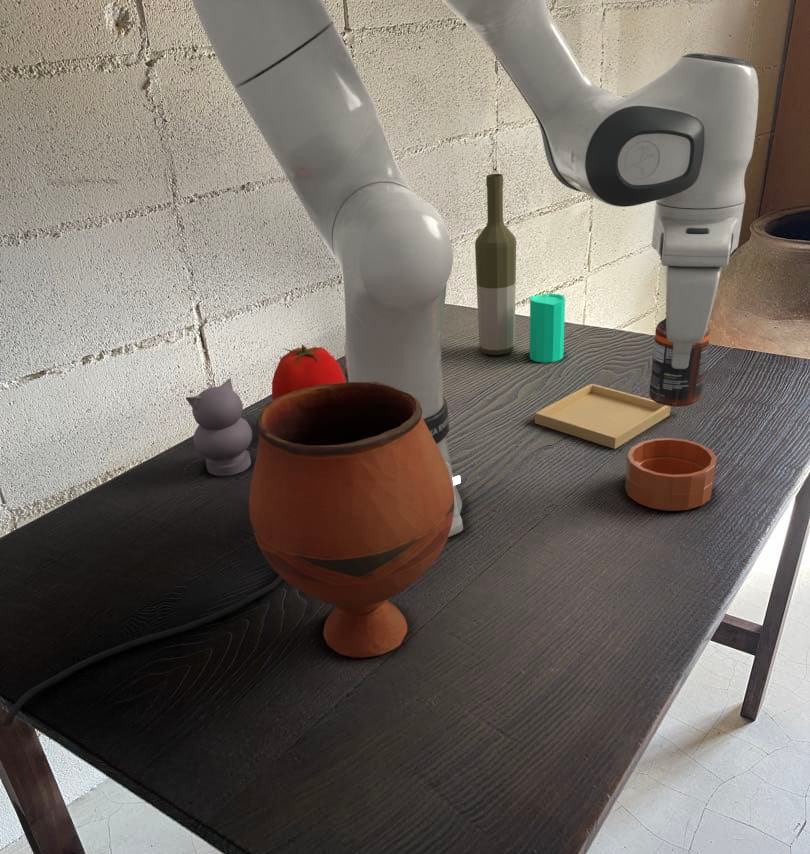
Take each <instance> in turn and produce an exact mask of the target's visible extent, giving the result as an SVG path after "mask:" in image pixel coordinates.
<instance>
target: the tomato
mask: <svg viewBox="0 0 810 854" xmlns="http://www.w3.org/2000/svg"><path fill="white" fill-rule="evenodd" d="M324 347H326V346H325V345H324V346H320V347H317V346H312V347H309V348H307V347H306V346H305V345H304V344H303V343H301V347H296V348H293V349H292V350H291V349H288V348H284V350H285V351H287V353H285V354H284V355H283V356H282V357H281V358H280V360H279V362H278V363H277V366H276V368H275V371H274V373H273V377H272V381H271V401H272V400H274V399H275V398H278V397H280V396H283V395H285V394H288V393H290V392H293V391H297V390H301V389H304V388H308V387H312V386H315V385H321V384H329V383H345V382H346V376H345V374H344V372H343V369H342V367H341V366H340V364H339V363H338V361H337V359H336V358H335V357H334V356H333V355H332V354H330V352H329V351H328V350H327V349H326V348H324Z"/></svg>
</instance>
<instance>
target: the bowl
mask: <svg viewBox="0 0 810 854" xmlns="http://www.w3.org/2000/svg"><path fill="white" fill-rule="evenodd" d="M717 460H718V458H717V456H716V455H715V453H714V452H713V450H712V449H710V448H709V447H707V446H705V445H704V444H702V443H700V442H696V441H692V440H689V439H683V438H674V437H661V438H659V437H658V438H652V439H647V440H643V441H640V442H638V443H636V444H635V445H633V446H632V447H630V449H629V451H628V453H627V456H626V465H625V466H626V467H625V479H624V480H625V482H624V489H625V491H626V494H627V496H628V497H629V498H630V499H632V500H633V501H635V503H637V504H639V505H642V506H645V507H647V508H650V509H655V510H659V511H668V512H669V511H670V512H674V511H675V512H679V511H688V510H692V509H696V508H699V507H701V506H704V505H705V504H706V503H707V502H709V501H710V500H711V497H712V493H713V488H714V481H715V473H716V468H717Z"/></svg>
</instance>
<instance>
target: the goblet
mask: <svg viewBox="0 0 810 854" xmlns="http://www.w3.org/2000/svg"><path fill="white" fill-rule="evenodd" d="M422 412H423V411H422V408H421V405H420V403H419V401H418V400H417V399H416V398H414V397H413V396H412V395H410V394H408V393H406V392H403V391H401V390H398V389H396V388H394V387H391V386H389V385H385V384H382V383H378V382H347V381H345V383H329V384H321V385H315V386H312V387H308V388H304V389H301V390H297V391H293V392H290V393H288V394H285V395H283V396H280V397H278V398H275V399H274V400H272V399H271V401H269V402H266V404H265V405H264V406H262V408H261V410H260V413H259V415H258V417H257V420H256V427H257V431H258V443H257V453H256V458H255V462H254V467H253V471H252V476H251V481H250V485H249V494H248V510H249V511H248V512H249V520H250V524H251V527H252V530H253V534H254V537H255V541H256V543H257V546H258V548H259V550H260V551H261V554H262V555H263V557H264V558H265V559H266V561H267V562H268V564H269V565H270V567H271V568H272V569H273V570H274V572H276V573H277V574H278V576H279V575H280V576H281V577H282V578H283V580H284V581H285V582H286V583H288V584H289V585H291V586H292V587H294V588H295V589H296V590H298V591H300V592H302V593H303V594H305V595H307V596H308V597H311V598H314V599H316V600H319V601H321V602H323V603H326V604H329V605H334V606H335V607H334V609H333V610H332V611H331V612H330V613H329V615H328V616H327V618H326V620H325V622H324V627H323V638H324V640H325V643H326V645H327V646H329V648H330V649H332V650H333V651H335V652H336V653H337V654H340V655H341V656H345V657H349V658H362V659H363V658H368V657H369V658H370V657H377V656H382V655H384V654H387V653H388V652H391V651H392V650H395V649H397V648H398V647H399V646H401V644H402V642H403V641H404V639H405V637H406V634H407V633H408V623H407V621H406V620H407V619H406V617H405V615H404V614H403V613H402V612H401V610H400V609H399V608H398V607H397V606H396V605H394V604H393V603H392V602H390V601H388V600H389V599H391V598H393V597H395V596H396V595H398V594H400V593H402V592H403V591H404V590H406V589H407V588H409V587H410V586H412V585H413V584H414V583H415V582H416V581H417V580H418V579H419V578H421V576H422V575H424V574H425V572H426V571H427V570H428V569H430V567H431V566H432V565H433V564H434V563H435V562H436V561H437V559H438V557H439V556H440V554H441V552H442V550H443V548H444V547H445V545H446V543H447V541H448V538H449V537H448V536H449V533H450V530H451V525H452V521H453V514H454V492H453V486H452V482H451V479H450V475H449V471H448V469H447V466H446V464H445V461H444V459H443V457H442V454H441V452H440V450H439V448H438V446H437V444H436V442H435V441H434V439H433V437H432V435H431V433H430V431H429V429H428V427H427V425H426V423H425V422H424V420H423V418H422Z"/></svg>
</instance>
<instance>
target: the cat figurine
mask: <svg viewBox="0 0 810 854" xmlns="http://www.w3.org/2000/svg"><path fill="white" fill-rule="evenodd" d="M185 400H186V401H187V403H188V404H189V405H190V407H191V408H192V409H191V411H192V417H193V418H194V421H195V422H196V424H198V425H197V427H196V428H195V431H194V433H193V438H192V441H193V442H192V443H193V444H194V447H195V450H196V451H197V453H198V454H200V455H202V456H203V457H204V458H205V465H206V470H207V472H208V473H209V474H211V475H214V476H218V477H226V476H233V475H237V474H239V473H242V472H244V471H246V470H248V469H249V468H250V466H251V464H252V460H251V453H250V452H249V450H247V449H248V447H249V446H250V445H251V442H252V440H253V439H252V438H253V430H252V427H251V426H250V424H249V422H248V421H247V420H246V419H244V418H243V417H242V414H243V411H244V404H243V401H242V399H241V397H240V396H239V394H238V392H237V391H234V390H233V385H232V380H231V377H229V378H228V379H227V380H226V381H224V382H223V383H222V384H220V386H212V387H209V388H205V389H204V390H202V391H201V392H199V394H198V395H195V396H194V395H193V396H187V397H185Z"/></svg>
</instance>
